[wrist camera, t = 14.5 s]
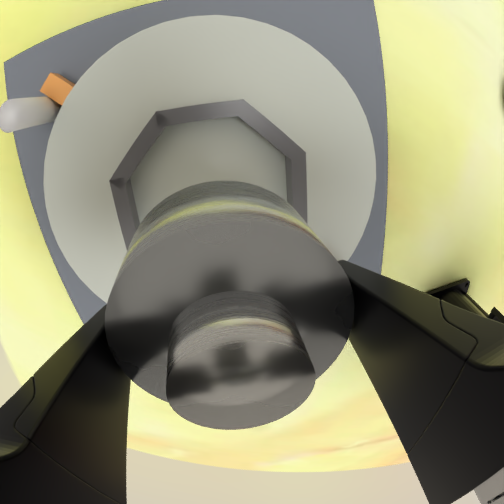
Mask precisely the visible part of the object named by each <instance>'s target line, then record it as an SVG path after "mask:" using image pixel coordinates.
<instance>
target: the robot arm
mask: <svg viewBox="0 0 504 504" xmlns="http://www.w3.org/2000/svg"><path fill="white" fill-rule="evenodd" d="M338 263H339V264H340V265H341V266H342V268H343V270H344V271H345V273H346V275H347V277H348V279H349V281H350V284H351V287H352V290H353V296H354V303H355V307H354V320H353V325H352V329H351V332H350V335H349V337H348V338H349V340H350V342H351V344H352V346H353V348H354V349H355V351H356V353H357V355H358V357H359V359H360V361H361V363H362V365H363V366H364V368H365V370H366V372H367V374H368V376H369V378H370V380H371V382H372V384H373V386H374V388H375V390H376V392H377V394H378V396H379V398H380V400H381V402H382V404H383V406H384V408H385V410H386V412H387V414H388V416H389V418H390V420H391V422H392V424H393V426H394V428H395V430H396V432H397V434H398V436H399V438H400V440H401V442H402V444H403V446H404V449H405V451H406V453H407V454H408V457H409V460H410V462H411V464H412V466H413V468H414V470H415V473H416V475H417V477H418V479H419V481H420V484H421V486H422V488H423V490H424V493H425V495H426V497H427V500H428V502H429V504H451V503H453V502H454V501H456V500H458V499H459V498H461V497H462V496H464V495H466V494H467V493H469V492H470V491H472V490H473V489H474V491H475V493H476V495H477V497H478V499H479V501H480V503H481V504H504V316H503V315H502V314H501V313H500V312H499V311H498V310H497V309H496V308H495V307H494V308H493V309H492V310H491V313H490V314H489V315H488V314H487V313H486V312H485V311H484V310H483V309H482V308H481V307H480V306H479V305H478V304H477V303H476V302H475V301H474V300H473V299H472V298H471V297H470V296H469V295H468V294H467V290H468V287H469V284H470V281H469V280H468V279H464V280H461V281H458V282H455V283H453V284H450V285H447V286H444V287H441V288H439V289H436V290H433V291H430V292H428V293H424V292H421V291H419V290H417V289H414V288H412V287H410V286H407V285H405V284H402V283H400V282H398V281H395V280H393V279H390V278H388V277H385V276H383V275H380V274H378V273H376V272H373V271H371V270H368V269H366V268H363V267H361V266H358V265H356V264H353V263H351V262H348V261H346V260H339V261H338ZM106 306H107V304H106V305H104V306H103V307H102V308H101V309H100V310H99V311H98V312H97V313H96V314H95V315H94V316H93V317H92V318H91V319H89V320H88V321H87V322H86V323H85V324H84V325H83V326H82V327H81V328H80V329H79V330H78V331H77V332H76V333H75V334H74V335H73V336H72V337H71V338H70V339H69V340H68V341H67V342H65V343H64V344H63V345H62V346H61V347H60V348H59V349H58V350H57V351H56V352H55V353H54V354H53V355H52V356H51V357H50V358H49V359H48V360H47V361H46V362H45V363H44V364H43V365H42V366H41V367H40V368H39V369H38V370H37V372H36V373H35V374H34V377H33V376H32V377H31V378H30V379H29V380H28V381H27V382H26V383H25V384H24V385H23V386H22V387H21V388H20V389H19V390H18V391H17V392H16V393H15V394H14V395H13V396H12V397H11V398H10V399H9V400H8V401H7V402H6V403H5V404H4V405H3V406H2V407H1V408H0V504H127V501H126V500H127V499H126V448H127V424H128V407H129V394H130V382H131V379H130V378H129V377H128V376H127V375H126V374H125V373H124V372H123V371H122V369H121V368H120V366H119V365H118V364H117V362H116V361H115V359H114V357H113V355H112V353H111V351H110V348H109V345H108V342H107V339H106V333H105V311H106Z"/></svg>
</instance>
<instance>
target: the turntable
mask: <svg viewBox="0 0 504 504" xmlns="http://www.w3.org/2000/svg"><path fill="white" fill-rule="evenodd" d="M40 92H42V93H43V94H45V95H46V96H48V97H49V98H51V99H52V100H54V101H55V102H57V103H59V104H60V105H62V107H61V109H60V111H59V113H58V115H57V117H56V119H55V122H54V125H53V128H52V131H51V134H50V137H49V140H48V145H47V150H46V156H45V161H44V184H43V185H44V195H45V204H46V209H47V214H48V218H49V222H50V226H51V228H52V231H53V234H54V236H55V239H56V241H57V244H58V246H59V248H60V249H61V251H62V253H63V255H64V257H65V258H66V260H67V262H68V263H69V265H70V266H71V268H72V269H73V270H74V272H75V273H76V274H77V276H78V277H79V278H80V279H81V280H82V281H83V282H84V284H85V285H86V286H87V287H88V288H89V289H90V290H91V291H92V292H93V293H94V294H96V295H97V296H98V297H99V298H101V299H102V300H103V301H104V302H106V303H107V302H108V298H109V295H110V293H111V290H112V287H113V285H114V282H115V280H116V277H117V274H118V272H119V269H120V267H121V264H122V262H123V260H124V257H125V255H126V252H127V250H128V248H129V245H130V243H131V241H132V238H133V236H134V234H135V232H136V230H137V228H138V226H139V225H140V223H141V222H142V221H143V219H144V218H145V216H146V215H147V214H148V213H149V212H150V211H151V210H152V209H153V208H154V207H155V206H156V205H157V204H159V203H160V202H161V201H163V200H164V199H165V198H167V197H169V196H170V195H172V194H174V193H175V192H177V191H179V190H182V189H184V188H187V187H189V186H192V185H196V184H200V183H204V182H211V181H238V182H245V183H250V184H253V185H257V186H260V187H262V188H265V189H267V190H269V191H271V192H273V193H275V194H277V195H278V196H280V197H281V198H283V199H284V200H285V201H287V202H288V203H289V204H290V205H291V206H292V207H293V208H294V209H295V210H296V211H297V212H298V213H299V214H300V216H301V217H302V218H303V219H304V220H305V222H306V223H307V224H308V225H309V227H310V228H311V229H312V230H313V231H314V233H315V234H316V235H317V236H318V238H319V239H320V240H321V241H322V242H323V244H324V245H325V246H326V247H327V249H328V250H329V251H330V252H331V254H332V255H333V256H334V258H335V259H336V260H337V261H339V260H346V261H348V260H349V258H350V257H351V255H352V254H353V252H354V251H355V249H356V247H357V245H358V243H359V241H360V239H361V237H362V235H363V233H364V230H365V227H366V225H367V222H368V219H369V216H370V212H371V208H372V204H373V200H374V193H375V184H376V157H375V150H374V144H373V138H372V134H371V131H370V127H369V124H368V121H367V118H366V115H365V113H364V111H363V109H362V107H361V104H360V102H359V100H358V98H357V96H356V95H355V93H354V92H353V90H352V89H351V87H350V86H349V84H348V83H347V81H346V80H345V78H344V77H343V76H342V75H341V73H340V72H339V71H338V70H337V69H336V68H335V67H334V66H333V65H332V63H331V62H330V61H329V60H328V59H326V58H325V57H324V56H323V55H322V54H320V53H319V52H318V51H317V50H316V49H314V48H313V47H312V46H311V45H309V44H307V43H306V42H304V41H303V40H301V39H299V38H298V37H296V36H294V35H293V34H291V33H289V32H287V31H284V30H282V29H280V28H277V27H275V26H272V25H270V24H267V23H264V22H260V21H256V20H252V19H248V18H244V17H236V16H225V15H203V16H190V17H185V18H180V19H175V20H171V21H166V22H163V23H160V24H157V25H155V26H152V27H149V28H147V29H144V30H142V31H140V32H138V33H136V34H134V35H132V36H130V37H129V38H127V39H125V40H123V41H122V42H120V43H118V44H117V45H115V46H114V47H113V48H111V49H110V50H109V51H108V52H106V53H105V54H104V55H102V56H101V57H100V58H99V59H98V60H97V61H96V62H95V63H94V64H93V65H92V66H91V67H90V68H89V69H88V70H87V71H86V72H85V73H84V74H83V75H82V76H81V77H80V79H79V80H78V82H77V83H76V84H74V83H72V82H71V81H69V80H67V79H66V78H64V77H63V76H61V75H60V74H58V73H51V72H50V74H49V76H48V77H47V79H46V81H45V82H44V84H43V86H42V88H41V89H40Z"/></svg>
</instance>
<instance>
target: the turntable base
mask: <svg viewBox="0 0 504 504" xmlns="http://www.w3.org/2000/svg"><path fill="white" fill-rule="evenodd" d="M203 15H225V16H236V17H244V18H248V19H252V20H256V21H260V22H264V23H267V24H270V25H272V26H275V27H277V28H280V29H282V30H284V31H287V32H289V33H291V34H293V35H294V36H296V37H298V38H299V39H301V40H303V41H304V42H306V43H307V44H309V45H311V46H312V47H313V48H314V49H316V50H317V51H318V52H319V53H320V54H322V55H323V56H324V57H325V58H326V59H328V60H329V61H330V62H331V63H332V65H333V66H334V67H335V68H336V69H337V70H338V71H339V72H340V73H341V75H342V76H343V77H344V78H345V80H346V81H347V83H348V84H349V86H350V87H351V89H352V90H353V92H354V93H355V95H356V96H357V98H358V100H359V102H360V104H361V107H362V109H363V111H364V113H365V115H366V118H367V121H368V124H369V127H370V131H371V134H372V138H373V144H374V150H375V157H376V184H375V193H374V200H373V204H372V208H371V212H370V216H369V219H368V222H367V225H366V227H365V230H364V233H363V235H362V237H361V239H360V241H359V243H358V245H357V247H356V249H355V251H354V252H353V254H352V255H351V257H350V258H349V260H348V262H351V263H353V264H356V265H358V266H361V267H363V268H366V269H368V270H371V271H373V272H376V273H378V274H380V275H381V267H382V258H383V248H384V237H385V224H386V207H387V181H388V134H387V109H386V93H385V80H384V69H383V60H382V52H381V44H380V37H379V30H378V24H377V18H376V12H375V6H374V1H373V0H163V1H158V2H154V3H149V4H145V5H141V6H138V7H134V8H130V9H127V10H123V11H120V12H117V13H113V14H110V15H107V16H104V17H101V18H98V19H95V20H93V21H90V22H87V23H85V24H82V25H79V26H77V27H74V28H72V29H69V30H67V31H65V32H62V33H60V34H58V35H56V36H53V37H51V38H49V39H47V40H45V41H43V42H41V43H39V44H37V45H35V46H33V47H31V48H29V49H27V50H25V51H23V52H21V53H20V54H18V55H16V56H14V57H13V58H11V59H9V60H7V61H6V62H4V70H5V81H6V90H7V98H8V100H7V101H5V102H4V103H3V104H2V106H1V107H0V128H1V130H2V131H4V132H7V133H9V132H13V133H14V138H15V143H16V147H17V152H18V156H19V160H20V164H21V168H22V172H23V176H24V179H25V183H26V186H27V189H28V193H29V196H30V199H31V202H32V206H33V209H34V212H35V214H36V217H37V220H38V223H39V226H40V229H41V231H42V234H43V237H44V239H45V242H46V244H47V247H48V249H49V252H50V254H51V257H52V259H53V261H54V264H55V266H56V268H57V271H58V273H59V275H60V277H61V280H62V282H63V284H64V286H65V288H66V290H67V292H68V294H69V297H70V299H71V301H72V303H73V305H74V307H75V309H76V310H77V312H78V314H79V316H80V318H81V320H82V322H83V324H85V323H86V322H87V321H88V320H89V319H91V318H92V317H93V316H94V315H95V314H96V313H97V312H98V311H99V310H100V309H101V308H102V307H103V306H104V305H106V304H107V303H106V302H104V301H103V300H102V299H101V298H99V297H98V296H97V295H96V294H94V293H93V292H92V291H91V290H90V289H89V288H88V287H87V286H86V285H85V284H84V282H83V281H82V280H81V279H80V278H79V277H78V276H77V274H76V273H75V272H74V270H73V269H72V268H71V266H70V265H69V263H68V262H67V260H66V258H65V257H64V255H63V253H62V251H61V249H60V248H59V246H58V244H57V241H56V239H55V236H54V234H53V231H52V228H51V226H50V222H49V218H48V214H47V209H46V204H45V195H44V185H43V184H44V161H45V156H46V150H47V145H48V140H49V137H50V134H51V131H52V128H53V125H54V122H55V119H56V117H57V115H58V113H59V111H60V109H61V107H62V105H60V104H59V103H57V102H55V101H54V100H52V99H51V98H49V97H48V96H46V95H45V94H43V93H42V92H40V89H41V88H42V86H43V84H44V82H45V81H46V79H47V77H48V76H49V74H50V72H51V73H58V74H60V75H61V76H63V77H64V78H66V79H67V80H69V81H71V82H72V83H74V84H76V83H77V82H78V80H79V79H80V77H81V76H82V75H83V74H84V73H85V72H86V71H87V70H88V69H89V68H90V67H91V66H92V65H93V64H94V63H95V62H96V61H97V60H98V59H99V58H100V57H101V56H102V55H104V54H105V53H106V52H108V51H109V50H110V49H111V48H113V47H114V46H115V45H117V44H118V43H120V42H122V41H123V40H125V39H127V38H129V37H130V36H132V35H134V34H136V33H138V32H140V31H142V30H144V29H147V28H149V27H152V26H155V25H157V24H160V23H163V22H166V21H171V20H175V19H180V18H185V17H190V16H203Z"/></svg>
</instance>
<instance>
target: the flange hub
mask: <svg viewBox="0 0 504 504" xmlns="http://www.w3.org/2000/svg"><path fill="white" fill-rule="evenodd" d="M354 307H355V303H354V296H353V290H352V287H351V284H350V281H349V279H348V277H347V275H346V273H345V271H344V270H343V268H342V266H341V265H340V264H339V263H338V261H337V260H336V259H335V258H334V256H333V255H332V254H331V252H330V251H329V250H328V249H327V247H326V246H325V245H324V244H323V242H322V241H321V240H320V239H319V238H318V236H317V235H316V234H315V233H314V231H313V230H312V229H311V228H310V227H309V225H308V224H307V223H306V222H305V220H304V219H303V218H302V217H301V216H300V214H299V213H298V212H297V211H296V210H295V209H294V208H293V207H292V206H291V205H290V204H289V203H288V202H287V201H285V200H284V199H283V198H281V197H280V196H278V195H277V194H275V193H273V192H271V191H269V190H267V189H265V188H262V187H260V186H257V185H253V184H250V183H245V182H238V181H211V182H204V183H200V184H196V185H192V186H189V187H187V188H184V189H182V190H179V191H177V192H175V193H174V194H172V195H170V196H169V197H167V198H165V199H164V200H163V201H161V202H160V203H159V204H157V205H156V206H155V207H154V208H153V209H152V210H151V211H150V212H149V213H148V214H147V215H146V216H145V218H144V219H143V221H142V222H141V223H140V225H139V226H138V228H137V230H136V232H135V234H134V236H133V238H132V241H131V243H130V245H129V248H128V250H127V252H126V255H125V257H124V260H123V262H122V264H121V267H120V269H119V272H118V274H117V277H116V280H115V282H114V285H113V287H112V290H111V293H110V295H109V298H108V302H107V306H106V311H105V333H106V339H107V342H108V345H109V348H110V351H111V353H112V355H113V357H114V359H115V361H116V362H117V364H118V365H119V366H120V368H121V369H122V371H123V372H124V373H125V374H126V375H127V376H128V377H129V378H130V379H131V380H132V381H133V382H134V383H136V384H137V385H138V386H139V387H141V388H142V389H144V390H145V391H147V392H148V393H150V394H151V395H153V396H155V397H157V398H159V399H161V400H164V401H166V402H169V404H170V406H171V407H172V408H173V410H174V411H175V412H176V413H177V414H179V415H180V416H181V417H183V418H184V419H186V420H188V421H190V422H192V423H195V424H197V425H201V426H204V427H209V428H214V429H225V430H236V429H246V428H252V427H257V426H261V425H264V424H268V423H270V422H273V421H276V420H278V419H280V418H282V417H284V416H286V415H288V414H289V413H291V412H292V411H294V410H295V409H296V408H298V407H299V406H300V405H301V404H302V403H303V402H304V401H305V400H306V399H307V398H308V396H309V395H310V393H311V392H312V390H313V387H314V384H315V380H316V379H317V378H318V377H319V376H321V375H322V374H323V373H324V372H325V371H326V370H327V369H328V368H329V367H330V366H331V364H332V363H333V362H334V361H335V360H336V358H337V357H338V355H339V354H340V352H341V351H342V349H343V348H344V346H345V344H346V342H347V340H348V337H349V335H350V332H351V329H352V325H353V320H354Z"/></svg>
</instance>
